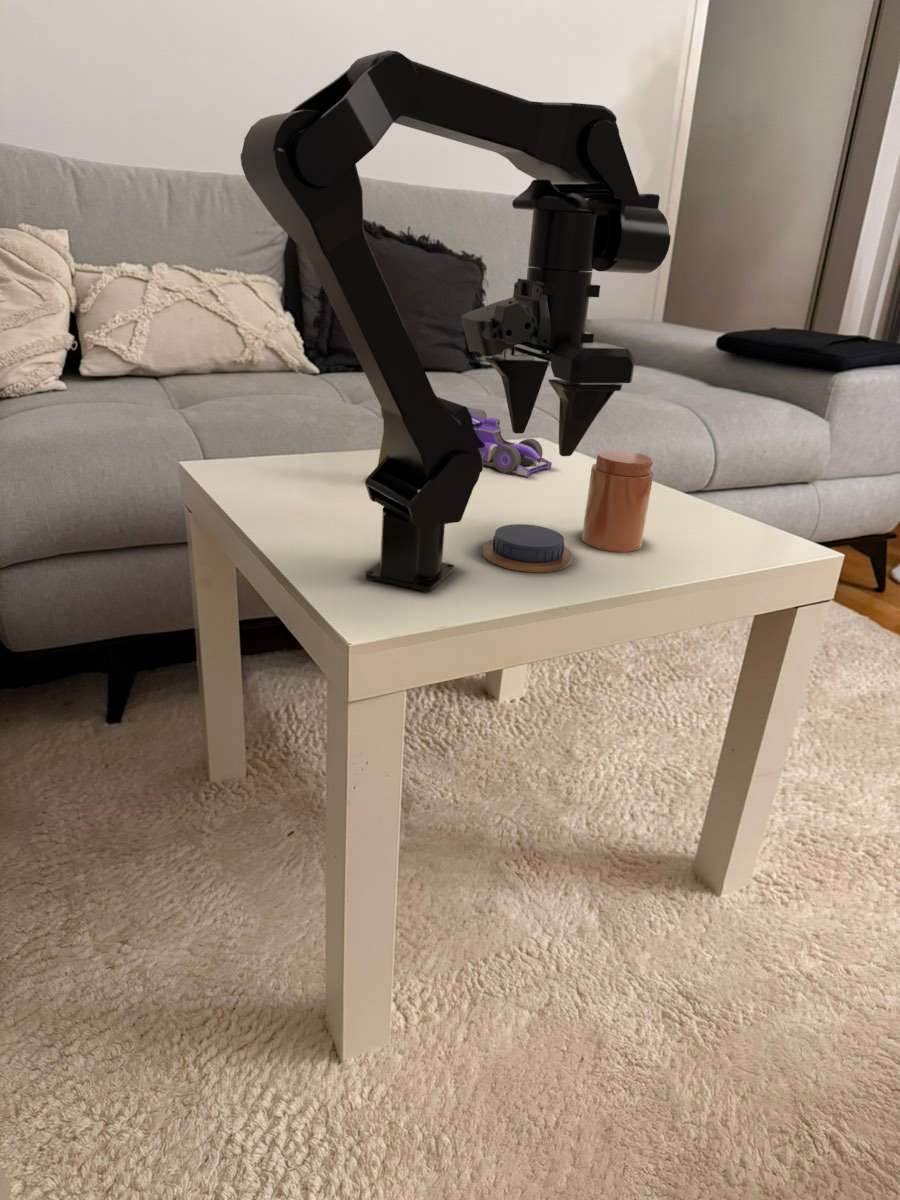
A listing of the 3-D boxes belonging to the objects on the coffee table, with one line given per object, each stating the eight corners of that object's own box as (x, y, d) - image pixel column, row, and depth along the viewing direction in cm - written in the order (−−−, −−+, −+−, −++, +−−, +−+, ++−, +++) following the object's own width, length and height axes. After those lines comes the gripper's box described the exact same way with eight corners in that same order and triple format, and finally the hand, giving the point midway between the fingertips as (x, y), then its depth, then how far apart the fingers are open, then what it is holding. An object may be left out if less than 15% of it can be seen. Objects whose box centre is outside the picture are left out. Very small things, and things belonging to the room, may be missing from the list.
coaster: (558, 579, 81) (559, 573, 80) (469, 561, 83) (470, 555, 83) (580, 551, 88) (581, 546, 88) (498, 535, 91) (499, 530, 91)
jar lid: (522, 534, 90) (524, 519, 90) (576, 553, 86) (578, 538, 85) (478, 547, 85) (479, 532, 85) (533, 568, 81) (535, 552, 80)
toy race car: (522, 480, 113) (527, 431, 111) (431, 458, 121) (434, 412, 118) (555, 468, 121) (561, 422, 118) (468, 448, 128) (471, 404, 126)
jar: (635, 556, 88) (650, 467, 85) (575, 544, 90) (587, 457, 87) (645, 538, 94) (660, 455, 90) (588, 528, 96) (600, 446, 92)
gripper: (435, 259, 80) (426, 424, 86) (530, 272, 64) (510, 473, 70) (539, 265, 84) (523, 422, 90) (651, 279, 69) (622, 468, 75)
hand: (540, 443), depth 81 cm, fingers open, 9 cm apart
